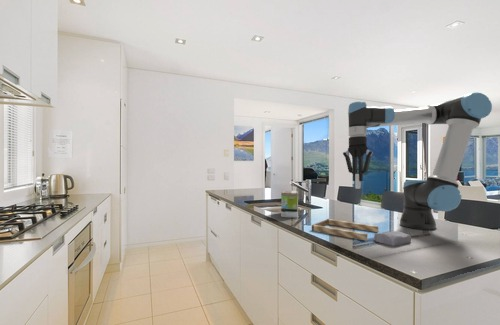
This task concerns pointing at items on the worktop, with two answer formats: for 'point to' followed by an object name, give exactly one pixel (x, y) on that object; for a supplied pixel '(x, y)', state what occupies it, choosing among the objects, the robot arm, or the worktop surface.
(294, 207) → the tea box
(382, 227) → the worktop surface
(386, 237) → the stone block
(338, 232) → the channel
